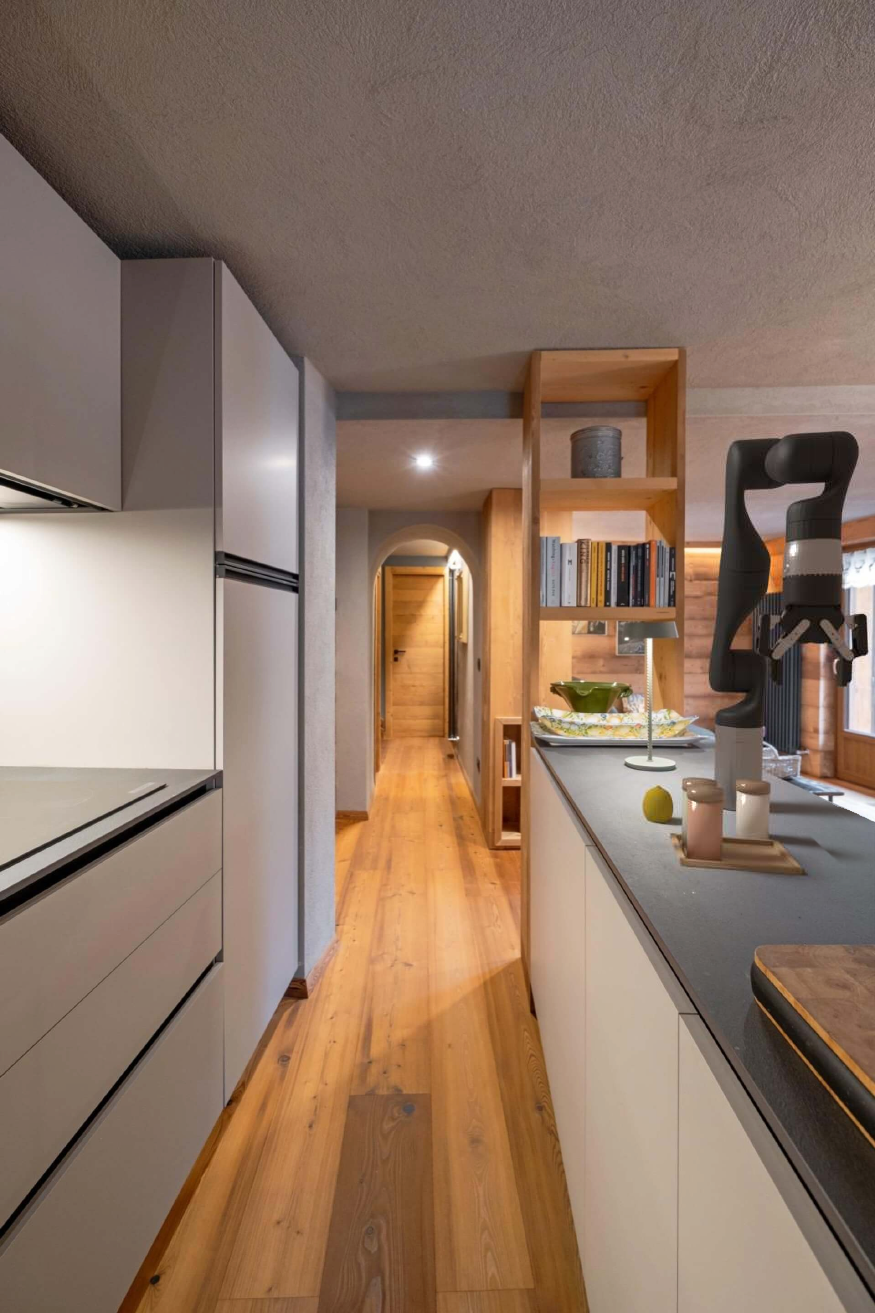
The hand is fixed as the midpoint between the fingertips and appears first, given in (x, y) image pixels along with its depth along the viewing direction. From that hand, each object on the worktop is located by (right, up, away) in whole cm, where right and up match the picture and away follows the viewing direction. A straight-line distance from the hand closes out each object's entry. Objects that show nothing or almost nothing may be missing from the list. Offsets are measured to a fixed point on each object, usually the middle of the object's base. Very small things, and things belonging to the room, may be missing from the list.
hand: (809, 685), depth 98 cm
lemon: (-12, -28, +30) cm, 43 cm away
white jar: (+1, -29, +19) cm, 35 cm away
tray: (-7, -29, +10) cm, 31 cm away
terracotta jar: (-12, -27, +8) cm, 31 cm away
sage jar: (-11, -27, +14) cm, 32 cm away
